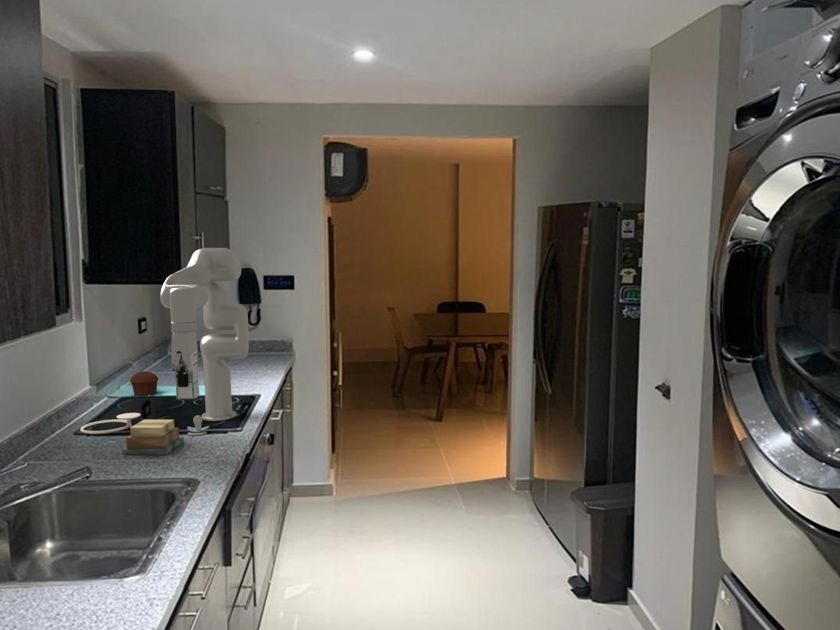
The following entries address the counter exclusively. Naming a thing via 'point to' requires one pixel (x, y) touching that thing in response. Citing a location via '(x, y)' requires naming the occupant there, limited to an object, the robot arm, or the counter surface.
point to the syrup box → (189, 380)
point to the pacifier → (197, 427)
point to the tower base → (152, 437)
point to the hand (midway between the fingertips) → (187, 383)
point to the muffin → (144, 383)
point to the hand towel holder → (124, 418)
